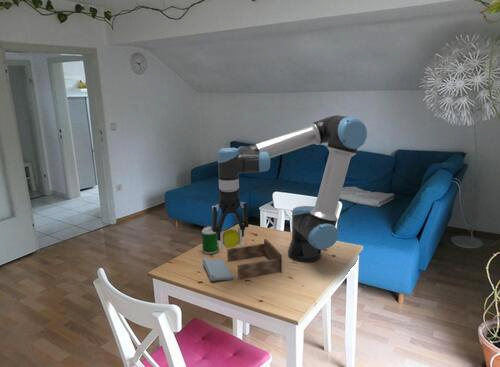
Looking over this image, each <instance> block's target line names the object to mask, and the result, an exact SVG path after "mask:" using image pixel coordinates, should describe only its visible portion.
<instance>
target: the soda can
mask: <svg viewBox="0 0 500 367" xmlns="http://www.w3.org/2000/svg"><path fill="white" fill-rule="evenodd" d="M211 227H212V225H208V226H205V227H203V229H201V242H202V252H203V253H204V254H206V255H214V254H216V253H218V252H219V250H220V247H219V241H218V240H217V235H216V232H213V231H212V229H211Z"/></svg>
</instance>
